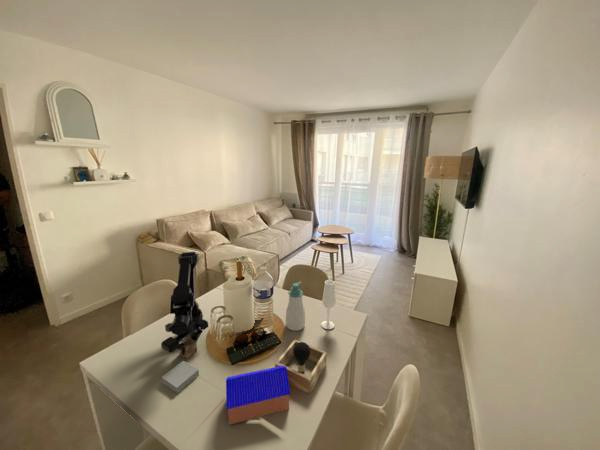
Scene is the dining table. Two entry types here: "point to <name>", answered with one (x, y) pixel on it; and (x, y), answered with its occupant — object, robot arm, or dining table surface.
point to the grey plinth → (180, 376)
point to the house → (257, 394)
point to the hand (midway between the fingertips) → (188, 350)
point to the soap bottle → (295, 309)
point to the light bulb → (301, 354)
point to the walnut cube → (189, 347)
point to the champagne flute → (328, 301)
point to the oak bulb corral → (299, 378)
